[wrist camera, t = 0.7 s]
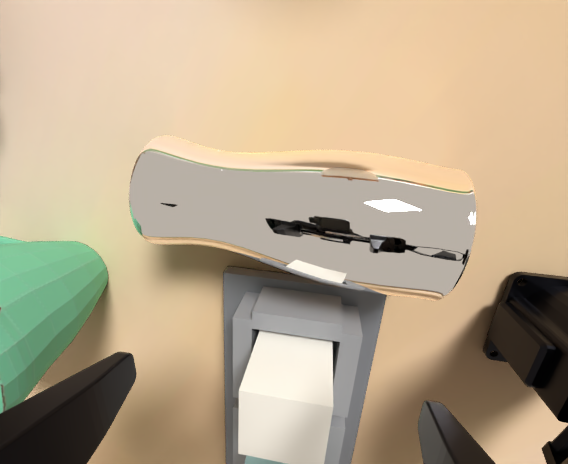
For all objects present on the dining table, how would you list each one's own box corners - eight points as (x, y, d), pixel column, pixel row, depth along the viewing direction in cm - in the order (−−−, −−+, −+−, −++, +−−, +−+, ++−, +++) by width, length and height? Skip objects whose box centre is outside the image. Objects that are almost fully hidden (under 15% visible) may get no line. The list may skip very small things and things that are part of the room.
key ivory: (332, 335, 18) (333, 407, 13) (324, 389, 19) (323, 471, 15) (261, 324, 18) (238, 390, 14) (259, 377, 20) (238, 453, 15)
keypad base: (384, 285, 20) (396, 322, 16) (339, 502, 28) (340, 560, 24) (228, 266, 21) (205, 296, 17) (229, 478, 29) (215, 529, 25)
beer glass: (202, 172, 21) (418, 204, 19) (169, 264, 18) (412, 312, 16) (156, 94, 14) (478, 132, 12) (96, 222, 12) (484, 293, 10)
